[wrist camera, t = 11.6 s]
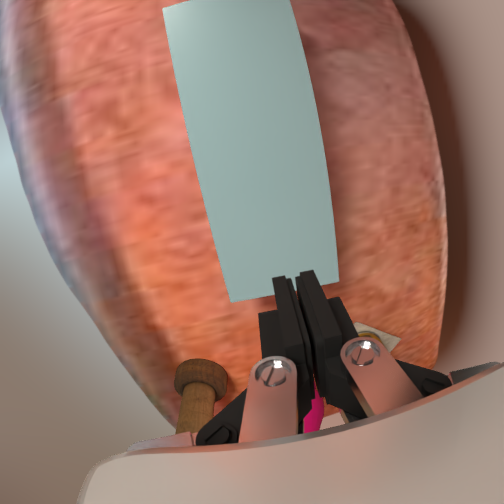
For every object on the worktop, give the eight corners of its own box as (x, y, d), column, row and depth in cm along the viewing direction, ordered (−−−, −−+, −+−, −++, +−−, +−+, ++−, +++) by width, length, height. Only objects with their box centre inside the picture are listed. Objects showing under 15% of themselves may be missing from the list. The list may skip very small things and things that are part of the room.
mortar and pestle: (216, 353, 33) (205, 492, 17) (234, 387, 36) (232, 511, 19) (168, 362, 34) (137, 489, 17) (188, 394, 36) (171, 510, 20)
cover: (165, 12, 15) (162, 8, 14) (283, -11, 15) (284, -15, 14) (231, 297, 24) (230, 302, 24) (336, 277, 24) (339, 281, 23)
